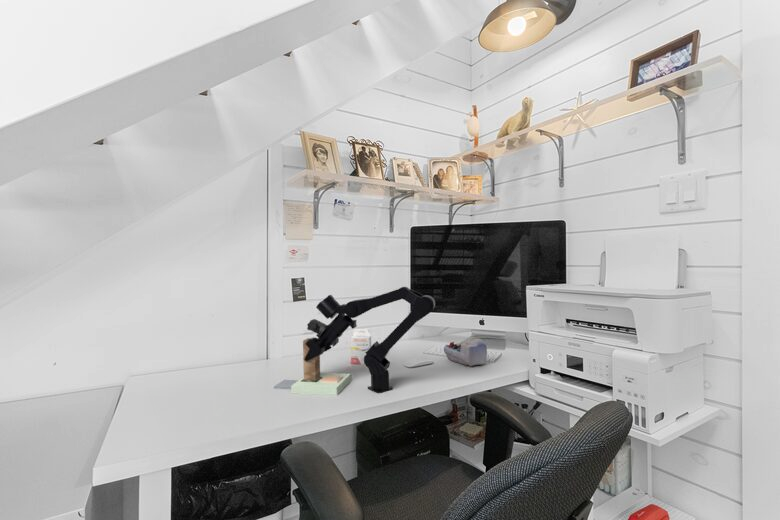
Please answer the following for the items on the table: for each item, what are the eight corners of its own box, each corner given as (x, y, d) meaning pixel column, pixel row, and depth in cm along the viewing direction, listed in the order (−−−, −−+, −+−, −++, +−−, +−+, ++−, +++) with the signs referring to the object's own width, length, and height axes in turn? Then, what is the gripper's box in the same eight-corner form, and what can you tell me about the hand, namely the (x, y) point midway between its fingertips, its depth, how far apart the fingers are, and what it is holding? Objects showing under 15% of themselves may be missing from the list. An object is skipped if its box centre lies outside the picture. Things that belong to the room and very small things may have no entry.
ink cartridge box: (350, 364, 164) (350, 330, 164) (352, 361, 169) (352, 328, 169) (370, 364, 163) (369, 330, 163) (371, 361, 168) (371, 328, 168)
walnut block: (320, 376, 137) (319, 338, 137) (315, 380, 132) (314, 340, 133) (308, 376, 138) (308, 338, 138) (303, 380, 133) (302, 340, 134)
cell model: (468, 342, 152) (439, 336, 169) (469, 369, 152) (440, 360, 169) (493, 338, 158) (462, 332, 176) (494, 364, 158) (463, 356, 175)
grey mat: (304, 382, 140) (304, 380, 140) (294, 389, 132) (294, 387, 132) (284, 381, 141) (284, 379, 141) (273, 388, 134) (273, 386, 134)
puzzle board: (350, 380, 141) (350, 370, 141) (336, 395, 125) (336, 383, 125) (310, 378, 144) (309, 368, 144) (291, 393, 128) (291, 381, 128)
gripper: (330, 308, 144) (303, 337, 146) (310, 315, 125) (280, 348, 127) (350, 329, 142) (323, 358, 144) (333, 339, 124) (302, 372, 126)
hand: (308, 358), depth 135 cm, fingers closed on walnut block, 4 cm apart
